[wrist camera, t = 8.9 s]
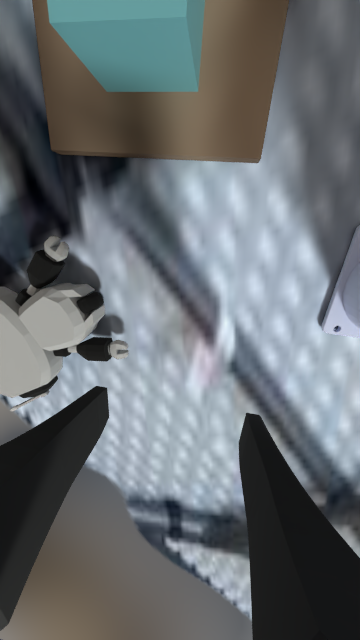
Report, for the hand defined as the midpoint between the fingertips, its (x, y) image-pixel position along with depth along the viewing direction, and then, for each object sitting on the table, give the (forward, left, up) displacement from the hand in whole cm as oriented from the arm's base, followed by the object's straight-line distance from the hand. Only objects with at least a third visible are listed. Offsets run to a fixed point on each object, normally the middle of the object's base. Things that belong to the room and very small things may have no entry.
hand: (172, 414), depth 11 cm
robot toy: (+14, +1, -10) cm, 17 cm away
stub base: (+4, -19, -9) cm, 22 cm away
